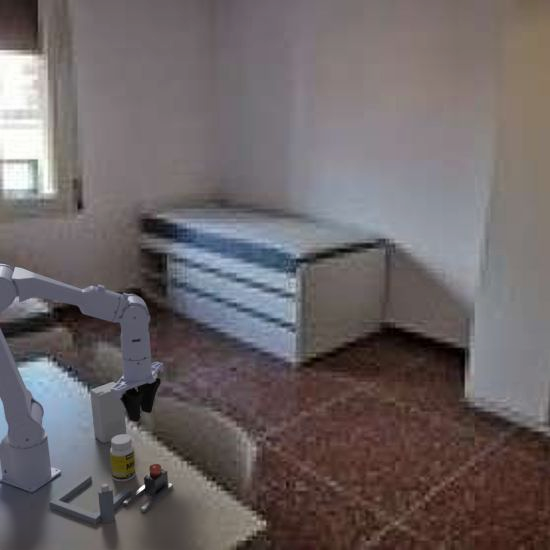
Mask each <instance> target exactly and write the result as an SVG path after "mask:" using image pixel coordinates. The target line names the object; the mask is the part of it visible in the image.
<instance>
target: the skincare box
mask: <svg viewBox="0 0 550 550" xmlns="http://www.w3.org/2000/svg"><path fill="white" fill-rule="evenodd" d="M116 383H117V382H114V381H112V382H108V383H106V384H104V385H100V386H97V387H95V388H92V389H90V390H89V393H90V402H91V411H92V412H91V413H92V421H93V422H92V423H93V432H94V437H95V438H96V439H97V440H98V441H100V442H101V443H103V444H105V443H107V442H111V439H112V438H113V437H114V436H116V435H120V434H126V435H127V424H126V423H127V422H126V411H125V406H124V404H123V403H122V401H121V400H120V399H117V398H112V397H111V388H112V387H113V386H115V385H116Z"/></svg>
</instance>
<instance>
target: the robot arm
mask: <svg viewBox="0 0 550 550" xmlns="http://www.w3.org/2000/svg"><path fill="white" fill-rule="evenodd" d="M17 297H18V303H23V302H26V301H28V300H30V299H33V298H35V297H38V298H43V299H47V300H51V301H56V302H60V303H63V304H67V305H68V304H69V305H73V306H77V307H78V308H79V310H80V312H81V314H83V315H86V316H89V317H93V318H96V319H97V318H98V319H99V320H100V319H101V320H103V321H107V322H112V323H119V325H120V329H121V330H120V331H121V333H120V347H121V348H120V349H121V359H122V360H121V361H122V371H123V372H122V373H123V374H122V376H121V377H120V378H119V380H118V381H117V382H115V383H116V385H115V386H113V387H112V388H111V397H112V398H117V399H120V400H121V401H122V403H123V404H124V409H125V410H126V411H125V412H126V413H127V416H128V418H129V421H132V422H136V423H137V422H139V421H140V419H141V411H142V413H143V412H144V413H147V414H151V413H152V412H153V406H154V402H155V397H156V395H157V392H158V389H159V388H160V385H161V384H162V382H161V381H162V380H161V378H159V377H156V375H157V374H162V373H163V372H165V371H164V370H165V369H164V363H163V362H159V361H154V362H152V354H151V353H152V352H151V339H150V338H151V337H150V332H149V324H150V322H151V315H150V312H149V309H148V306H147V304H146V301H144V299H143V298H142V297H140V296H139V295H137V294H135V293H126V292H123V293H118V292H115V291H112V290H108V289H106V286H105V285H102V284H98V285H97V286H94V285H89V286H87V287H85V288H79V287H77V286H73V285H70V284H68V283H65V282H62V281H59V280H57V279H53V278H50V277H47V276H44V275H41V274H39V273H36V272H33V271H31V270H27V269H25V268H23V267H17V266H15V267H14V268H13V267H12V266H11V265H8V264H5V263H3V264H2V263H0V316H1V314H2V313H3V312H4V311H5V310H6V309H8V308H9V307H10V306H12V304H13V303H14V301H15V300H16V298H17ZM23 379H24V378H23V377H22V376H21V373H20V371H19V368H18V366H17V363H16V362H15V359H14V356H13V354H12V352H11V349H10V347H9V345H8V342H7V340H6V338H5V335H4V333H3V331H2V328H1V327H0V401H1V402H2V407H3V412H4V417H5V418H4V419H5V421H6V423H7V427H8V428H7V434H6V435H5V436H4V437H3V438H2V440H1V441H0V469H1V470H0V471H1V476H0V482H1V483H5V484H8V485H10V486H13V487H17V488H19V489H22V490H24V491H28V492H30V493H33V492H36V491H37V490H39V489H40V488H41V487H43V486H44V485H46V483H49V482H50V481H51V480H53V479H54V478H56V477H57V476H58V475H60V474H61V473H62V470H61V469H58V468H56V467H53V466H51V465H52V463H51V459H50V458H51V457H50V449H49V439H48V433H47V431H46V429H45V428H44V427H43V417H44V414H45V413H44V412H45V411H44V407H43V405H42V404H41V403H40V402H39V401H38V400H36V399H35V398H34V396H33V393H32V392H31V391H30V390H29V389H28V388H27V387H26V384H25V382H24V380H23Z"/></svg>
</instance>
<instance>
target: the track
mask: <svg viewBox="0 0 550 550" xmlns="http://www.w3.org/2000/svg"><path fill="white" fill-rule="evenodd" d="M173 489H174V484H172V483H170V482H168V485H167V486H166V487H165V488H164V489H162V490H161V491H160V492H159V493H158V494H157V495H156V496H152V498H151V499H150V500H148V501H147V502H146V503H145V504H143V506H142V507H141V508H140V512H141V513H144V514H145V513H146V512H147V511H149V510H150V509H151V508H152V507H154V506H155V505H156V503H158V502H159V501H160V500H161V499H162V498H164V497H165V495H167V494H168V493H170V491H171V490H173ZM143 494H145V485H144V484H143V485H142V486H141V487H140V488H138V489H137V490H136V491H135V492H133V493H132V495H131V496H130V497H129V498H128V499H126V500H125V501H124V502H123V503H122V504H123V506H124V507H129V506H130V505H131V504H132V503H133V502H134V501H136V500H137V499H138V498H139V497H140V496H142V495H143Z"/></svg>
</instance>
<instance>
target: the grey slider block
mask: <svg viewBox="0 0 550 550" xmlns="http://www.w3.org/2000/svg"><path fill="white" fill-rule="evenodd" d="M148 469H149V473H148V474H146V476H144V477H143V481H144V483H143V485H145V492H144V494H146V495H148V496H152V497H154V496H156V495H157V494H158V493H159V492H160V491H161V490H162V489H164V488H165V487H166V486H167V485H168V484H169V480H168V479H169V478H168V477H169V476H168V470H166V469H162V465H161V464H159V463H153V464H151V465H150V466H149V468H148Z"/></svg>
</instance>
